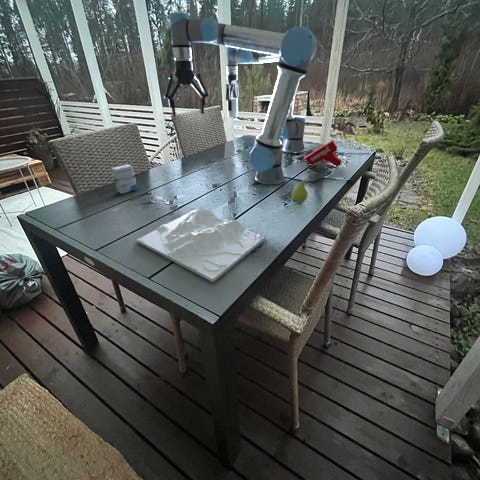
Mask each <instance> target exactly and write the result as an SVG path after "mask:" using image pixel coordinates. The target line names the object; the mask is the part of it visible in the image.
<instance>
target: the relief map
mask: <svg viewBox="0 0 480 480" xmlns="http://www.w3.org/2000/svg"><path fill="white" fill-rule="evenodd" d="M136 241H137V243H138V244H140V245H142V246H143V247H146V248H147V249H149V250H151V251H153V252H155V253H156V254H158V255H160V256H162V257H164V258H166V259H168V260H170V261H172V262H174V263H176V264H177V265H179V266H181V267H183V268H185V269H187V270H189V271H190V272H193V273H194V274H196V275H198V276H200V277H202V278H204V279H206V280H208V281H209V282H211V283H214V282H216V281H217V280H218V279H219V278H221V277H222V276H223V275H224V274H225V273H226V272H228V271H229V270H231V268H233V267H234V266H236V265H237V264H238V263H239V262H240V261H242V260H243V259H244V258H245V257H246V256H248V255H249V254H250V253H251V252H252V251H254V250H255V249H256V248H257V247H259V246H260V245H261V244H262V243H263V242H265V241H266V236H263V235H262V234H261V233H255V232H253V231H250V230H248V229H246V228H245V227H244V226H243V225H242V224H241V223H240V222H239V221H238V220H236V219H232V220H229V221H227V222H226V221H224V220H223V219H222V218H219V217H218V216H217V215H216V214H215V213H214V212H213V210H211V209H210V208H206V209H205V208H204V207H203V206H201V207H200V208H198V209H197V210H191V211H189V212H187V213H185V214H184V215H182V216H179V217H177V218H175V219H173V220H171V221H169V222H167V223H163V224H161V225H159V227H158V228H156V229H155V230H153V231H150V232H149V233H147V234H145V235H143V236H141V237H139V238H137V239H136Z"/></svg>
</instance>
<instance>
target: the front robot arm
mask: <svg viewBox="0 0 480 480" xmlns="http://www.w3.org/2000/svg"><path fill="white" fill-rule="evenodd" d="M169 29H170V36H171V43H172V53H173V59H174V62H173V64H174V70H175V71H174V72H175V73H168V75H167V77H168V80H167V84H166V87H165V90H164V93H163V98H164V99H167V100H168V105H169V108H170V109H171V112H172V113H171V115H172V116H173V117H176V116H177V114H176V106H175V99H173V98H174V97H175V95H176V93H177V92H178V90H179V88H180V87H181V86H191V87H192V88H193V89H194V91H196V93H197V94H198V95H199V110H200V114H201V115H205V108H204V107H205V106H206V98H207V97H209V92H208V91H207V88H206V86H205V84H204V82H203V80H202V76H201V73H200V72H196V73H194V69H193V68H194V66H193V61H192V59H193V55H192V44H193V43H205V44H212V45H216V46H223V47H234V48H237V49H238V50H250V51H256V52H261V53H267V54H272V55H278V56H280V57H279V61H277V65H276V67H277V69H278V74H277V79H276V82H275V85H274V89H273V93H272V95H271V99H270V103H269V105H268V109H267V113H266V117H265V120H264V123H263V127H262V129H261V133H259V134H258V135H256V137H255V141H254V145H253V147H252V149H250V152H249V156H248V161H249V163H250V165H251V167H252V168H253V169H254V170H256V174H255V178H254V181H255V183H258V184H259V185H262V186H263V185H264V186H279V185H281V184H283V183H284V181H285V179H287V180H292V181H297V182H301V181H302V180H303V179H299V178H294V177H289V176H285V175H284V172H283V171H284V170H283V167H282V165H283V154H284V152H283V146H284V144H285V142H284V140H283V137H282V136H281V134H282V131H283V128H284V125H285V122H286V120H287V117H288V114H289V111H290V108H291V105H292V102H293V99H294V100H295V98H294V96H295V97H296V93H297V89H298V87H299V84H300V80H301V79H302V78H304V77H305V76H306V75H307V73H308V70H309V67H310V65H311V62H312V61H313V59H314V58H315V56H316V54H317V51H318V40H317V39H318V38H317V37H316V35H315V34H314V33H313V31H312V30H311V29H310V28H308V27H306V26H302V25H299V26H298V25H297V26H293V27H292V28H289V29H288V30H286V31H285V32H284V33H283V32H277V31H270V30H265V29H259V28H251V27H245V26H239V25H233V24H227V23H221V22H217V20H216V19H215V18H213V17H204V18H202V17H201V18H189V15H188V13H186V12H171V13H170V14H169ZM194 79H195V80H196V81H197V84H198V85H199V87H200V88H199V87H198V85H197V84H196V83H195V82H194ZM174 80H176V82H175V85H174V86H173V88H172V84H173V81H174ZM171 88H172V89H171ZM335 178H336V177H334V178H333V177H319V178H316V179H313V180H305V183H307V184H309V183H311V184H312V183H315V182H317V181H319V180H320V181H321V180H332V181H336V180H337V181H338V180H339V179H335ZM343 178H344V179H346V177H343ZM345 181H346V182H347V183H351V181H350V180H349V179H348V180H345Z"/></svg>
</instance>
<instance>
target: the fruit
mask: <svg viewBox="0 0 480 480" xmlns="http://www.w3.org/2000/svg"><path fill="white" fill-rule="evenodd" d="M310 177H311V175H310V174H309V175H308V176H307V177H305V179H301V180H302V181H299V182H298V184H297V185H296V186H295V187H294V188H293V190H292V191H291V198H292V200H293V201H294V202H295V203H297V204H301V203H304V202H305V201H306V200H307V198H308V196H309V195H308V190H307V189H306V184H305V183H306V182H305V181H307V180H308V179H309V178H310Z"/></svg>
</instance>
